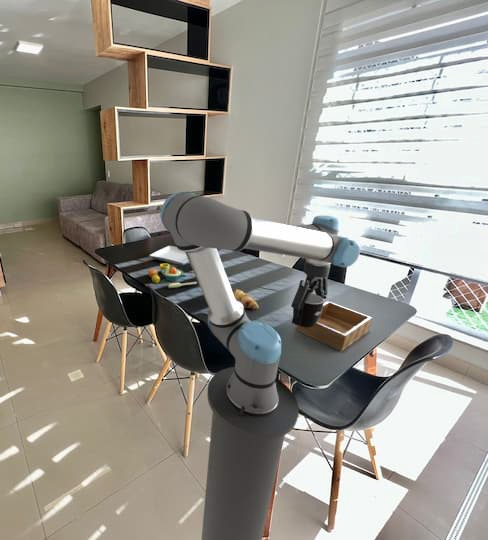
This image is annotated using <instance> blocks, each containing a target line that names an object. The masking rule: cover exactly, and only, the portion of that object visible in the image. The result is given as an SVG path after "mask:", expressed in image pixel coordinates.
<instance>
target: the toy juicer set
mask: <svg viewBox="0 0 488 540" xmlns="http://www.w3.org/2000/svg"><path fill="white" fill-rule="evenodd" d="M170 266H171V265H170V263H167V262H165V263H160V264H159V269H160V273H161V274H162V275H163V277H164V278H165V279H166V280H167V281H168V282H171V283H168V284H167V287H168V289H177V288H180V287H183V286H188V285H189V286H190V285H197V284H198V281H191V282H185V283H181V282H178V280H180V279H181V278H186V277H187V273H186V272H184V271H183V270H181V269H180V268H179V269H178V268H176V267H175V266H172V267H170ZM148 277H149V278H151V281H152V283H154V284H158V283H159V282H160V281H161V277H160V276H159V273H158V271H157V270H156V266H154V267H153V268H152V269H151V270H150V271H149V272H148Z"/></svg>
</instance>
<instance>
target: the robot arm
mask: <svg viewBox="0 0 488 540" xmlns="http://www.w3.org/2000/svg"><path fill="white" fill-rule="evenodd" d="M160 221H161V223H162V226H163V227H164V228H165V229H166V231H168V232H169V233H170V235H171V237H172V239H173V242H174V244H175V247H177V248H178V249H179V250H180V251H183V252H185V253H186V255H187V258H188V260H189V261H188V262H189V264H190V267H191V269H192V272H193V275H194V276H195V279H196V282H197V284H198V285H199V288H200V290H201V292H202V294H203V297H204V299H205V301H206V304H207V306H208V308H209V309H208V311H207V325H208V328H209V330H210V332H211V333H212V334H213V336H215V338H216V339H218V340H219V342H220V343H221V344H222V345H223V346H224V347H225V348H226V349H227V351H228V352H229V353H230V354H231V355H232V356H233V357H234V359H235V361H234V367H235V370H234V372H233V374H232V376H231V377H230V379H229V381H228V383H227V386H226V395H227V398H228V400H229V402H230V403H231V404H232V405H233V406H234V407H235V408H236V409H238V410H239V411H240V413H239V414H240V415H243V413H245V414H248V415H251V416H267V415H270V414H271V413H273V412H274V411H275V410H276V408H277V405H278V393H277V389H276V384H275V379H276V378H277V374H278V369H279V364H280V360H281V355H282V339H281V336H280V335H279V333H278V331H277V330H275V329H274V328H273V327H271V326H270V325H268V324H263V323H262V322H259V321H252V320H251V319H249V317H248V315H247V313H246V310H245V308H244V307H243V305H242V303H241V302H239V301H238V300H235V297H234V294H233V292H232V291H233V289H232V286H231V284H230V281H229V278H228V275H227V273H226V270H225V268H224V265H223V262H222V259H221V256H220V254H219V251H218V250H225V251H231V252H240V251H242V250H243V249H245V250H252V251H258V252H264V253H271V254H277V255H283V256H290V257H297V258H301V259H305V262H304V264H303V273H304V274H305V275H306V278H305V279H300V281H299V285H298V287H297V289H296V293H295V294H294V298H293V300H292V302H291V305H290V307H291V308H295V309H294V314H293V313H292V320H291V324H293V325H296V326H297V327H298V326H300V325H301V320H302V315H303V310H304V309H302V308H303V306H304V304H305V302H306V301H307V299H308V297H309V295H310V293H312V294H316V295H318V296H320V297H322V298H323V300H327V298H328V297H327V295H328V278H329V273H330V269H331V265H333V266H337V267H340V268H348V267H351V266H352V265H354V264H355V263H356V261H357V260H358V259H359V256H360V255H361V245H360V243H359V242H358V241H357V240H354V239H351V238H349V237H344V236H341V235H339V232H340V225H341V220H340V218H339V217H337V216H332V215H316V216H315V217H313V220H312V221H311V222H312V223H310V224H300V225H299V224H298V225H294V224H293V225H290V224H286V223H281V222H277V221H273V220H268V219H264V218H258V217H254V216H252V215H251V214H250V212H248V211H246V210H243V209H239V208H235V207H233V206H230V205H227V204H225V203H223V202H221V201H218V200H216V199H213V198H211V197H208V196H204V195H199V194H195V193H194V192H192V191H177V192H174V193H172V194H170V195H169V196H168V197H167V198H166V199H165V201H164V202H163V204H162V205H161V208H160ZM314 292H315V293H314ZM276 383H277V382H276Z"/></svg>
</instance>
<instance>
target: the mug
mask: <svg viewBox="0 0 488 540" xmlns="http://www.w3.org/2000/svg"><path fill="white" fill-rule="evenodd" d="M324 303H325V299H323V298H322V297H320V296H318V295H316V293H310V295H309V297H308V299H307V301H306V302H305V304H304V306H303V308H302V309H304V310H303V315H302V320H301V325H300V326H302V327H307V328H309V327H313V326H314V325H315V324H316V322H317V320H318V318H319V316H320V313H321V310H322V307H323V304H324ZM292 308H293V307H292ZM294 309H295V308H293V309H292V315H293V314H294Z"/></svg>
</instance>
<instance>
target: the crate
mask: <svg viewBox="0 0 488 540" xmlns="http://www.w3.org/2000/svg"><path fill="white" fill-rule="evenodd" d="M372 320H373V317H372V316H370V315H367V314H365V313H361V312H358V311H356V310H353V309H351V308H348V307H345V306H343V305H340V304H337V303H334V302H332V301H329V300H327V301H324V303H323V307H322V310H321V313H320V316H319V318H318V320H317V322H316V324H315V325H314V326H313V327H309V328H307V327H302V326H297V329H296V330H297V331H298V332H299V333H302V334H304V335H306V336H309V337H310V338H312V339H314V340H316V341H319V342H321V343H322V344H324V345H326V346H329V347H331V348H332V349H335V350H337V351H339V352H343V351H344V350H346V349H347V348H348V347H350V346H351V345H352V344H354V343H355V342H356V341H358V340H359V339H360V338H362V337H363V336H364V335H366V334H367V333H369V329H370V327H371V323H372Z"/></svg>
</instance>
